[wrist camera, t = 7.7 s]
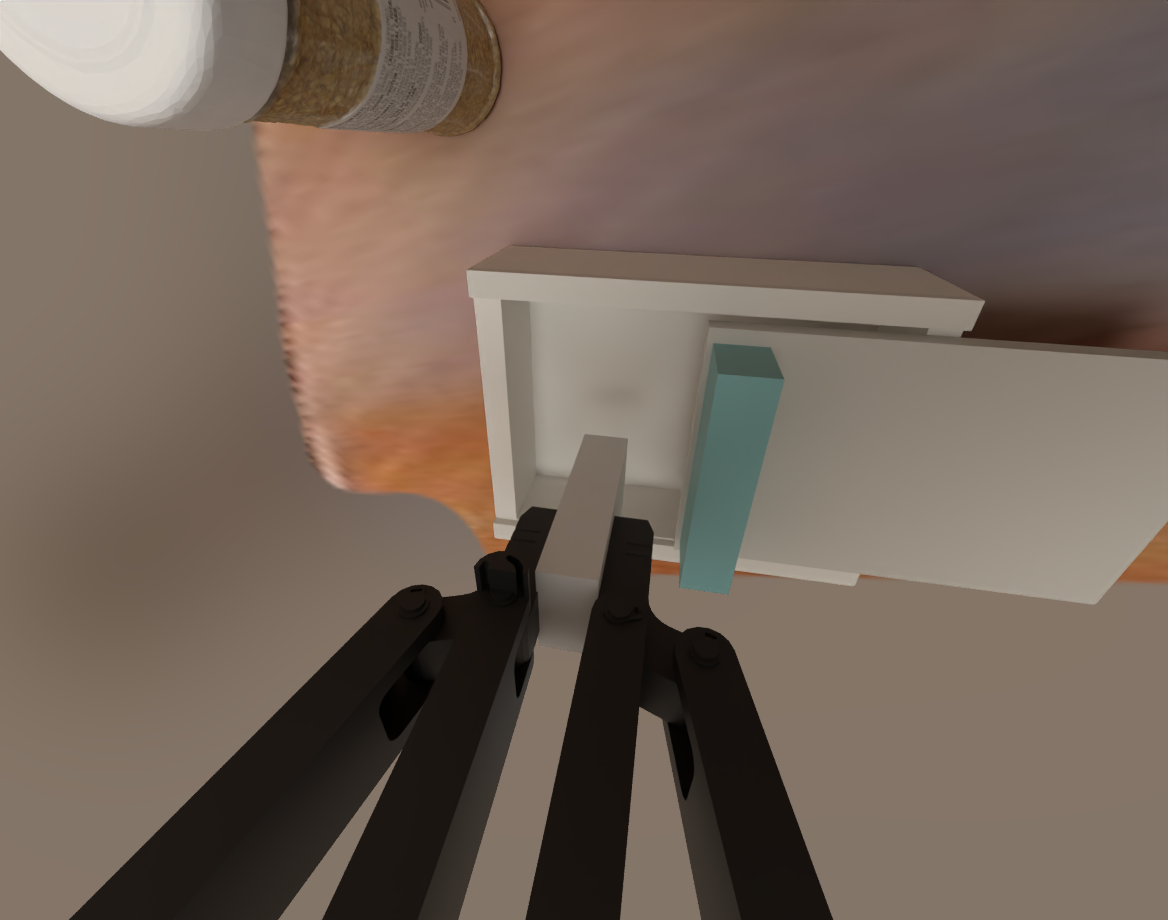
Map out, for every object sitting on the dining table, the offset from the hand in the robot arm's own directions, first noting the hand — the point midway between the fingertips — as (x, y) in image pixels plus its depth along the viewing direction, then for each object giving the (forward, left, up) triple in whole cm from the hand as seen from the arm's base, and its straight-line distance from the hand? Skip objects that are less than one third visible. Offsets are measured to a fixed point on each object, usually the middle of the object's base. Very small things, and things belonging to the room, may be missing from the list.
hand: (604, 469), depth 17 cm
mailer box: (-3, 0, -7) cm, 8 cm away
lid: (-11, 0, -2) cm, 11 cm away
